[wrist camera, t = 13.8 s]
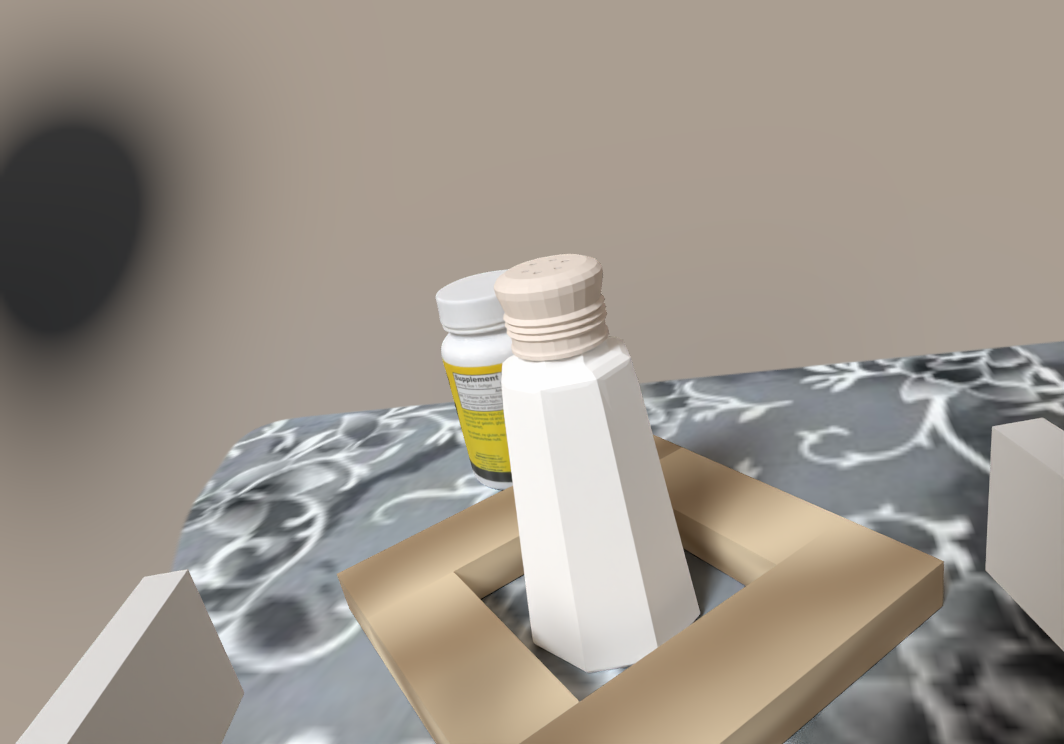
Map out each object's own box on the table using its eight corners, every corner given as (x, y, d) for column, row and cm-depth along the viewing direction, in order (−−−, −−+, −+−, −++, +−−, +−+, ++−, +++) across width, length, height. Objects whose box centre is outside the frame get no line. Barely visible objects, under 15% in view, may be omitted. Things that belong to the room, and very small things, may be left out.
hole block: (942, 605, 20) (943, 561, 19) (559, 935, 14) (544, 886, 13) (637, 456, 30) (631, 425, 30) (349, 608, 25) (336, 573, 24)
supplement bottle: (503, 436, 35) (463, 269, 32) (593, 439, 33) (560, 261, 29) (454, 490, 31) (403, 306, 28) (553, 498, 29) (509, 299, 26)
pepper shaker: (559, 548, 25) (492, 248, 21) (713, 559, 23) (671, 227, 19) (499, 663, 21) (401, 310, 17) (685, 690, 19) (622, 291, 15)
